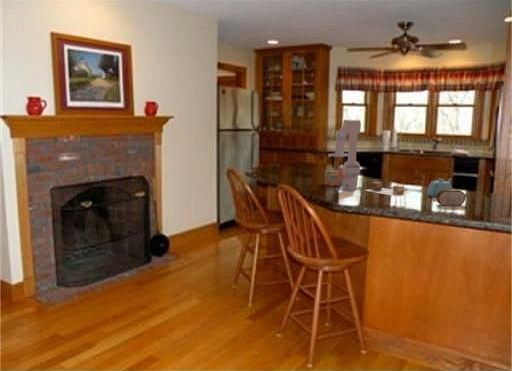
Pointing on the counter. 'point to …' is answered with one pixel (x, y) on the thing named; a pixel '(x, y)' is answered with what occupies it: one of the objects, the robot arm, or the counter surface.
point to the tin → (450, 197)
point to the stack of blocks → (335, 177)
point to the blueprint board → (386, 192)
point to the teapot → (438, 187)
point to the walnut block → (376, 186)
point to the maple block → (398, 189)
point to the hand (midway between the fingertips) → (338, 167)
